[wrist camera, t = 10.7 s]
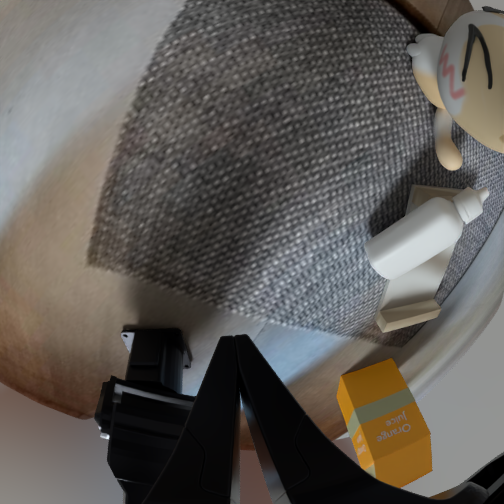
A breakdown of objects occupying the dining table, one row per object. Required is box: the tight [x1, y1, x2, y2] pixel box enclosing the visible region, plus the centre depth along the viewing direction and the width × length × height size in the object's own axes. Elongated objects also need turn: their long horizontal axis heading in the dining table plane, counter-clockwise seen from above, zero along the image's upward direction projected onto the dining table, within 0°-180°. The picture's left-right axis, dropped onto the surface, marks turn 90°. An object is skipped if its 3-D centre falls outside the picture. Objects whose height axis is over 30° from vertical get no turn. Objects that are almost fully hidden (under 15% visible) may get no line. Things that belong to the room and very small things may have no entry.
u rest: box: [374, 184, 464, 333], centre depth 24 cm, size 16×9×2 cm, turn 0°
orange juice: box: [337, 358, 432, 488], centre depth 29 cm, size 8×9×20 cm
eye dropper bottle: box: [364, 187, 489, 280], centre depth 19 cm, size 4×6×12 cm
